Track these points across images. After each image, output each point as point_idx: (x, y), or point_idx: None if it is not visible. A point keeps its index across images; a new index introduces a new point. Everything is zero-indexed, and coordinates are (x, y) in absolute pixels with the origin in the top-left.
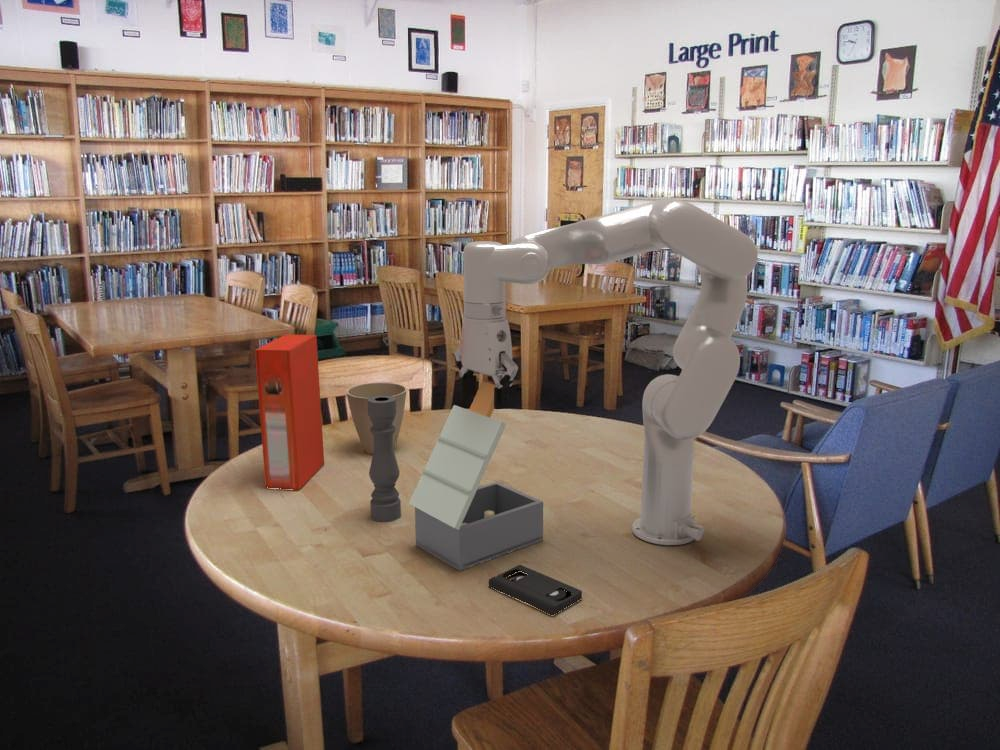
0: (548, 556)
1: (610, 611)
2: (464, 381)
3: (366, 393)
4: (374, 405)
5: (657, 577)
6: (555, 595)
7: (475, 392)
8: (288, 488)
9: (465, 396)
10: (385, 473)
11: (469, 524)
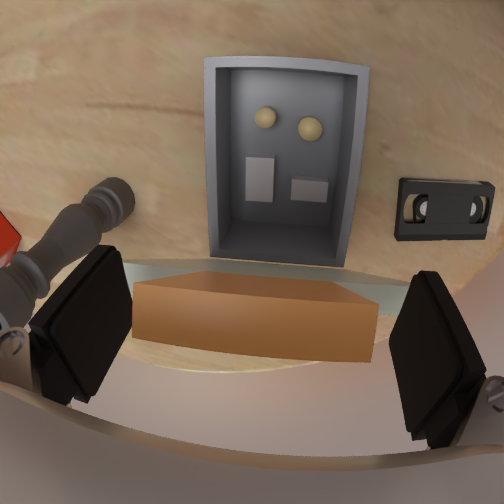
0: (398, 109)
1: None
2: (97, 384)
3: None
4: None
5: None
6: (474, 211)
7: (110, 265)
8: (17, 244)
9: (131, 316)
10: (93, 245)
11: (342, 244)
